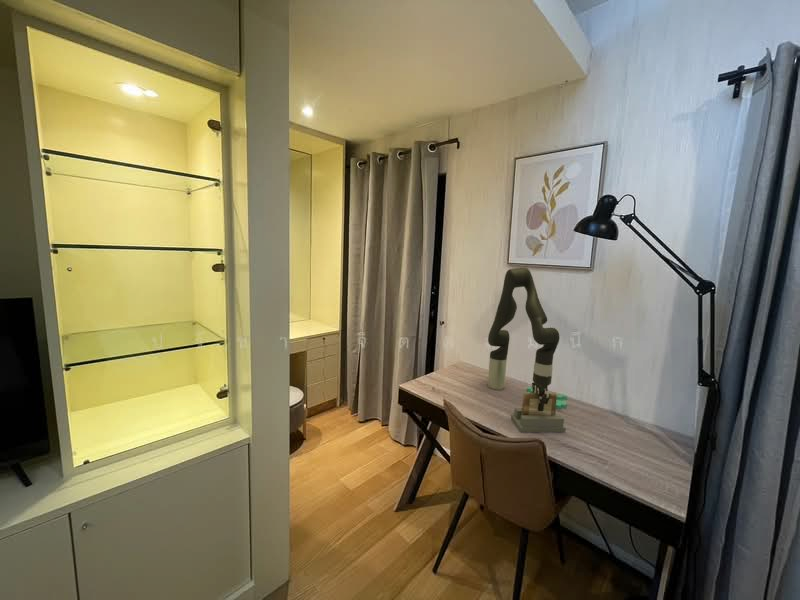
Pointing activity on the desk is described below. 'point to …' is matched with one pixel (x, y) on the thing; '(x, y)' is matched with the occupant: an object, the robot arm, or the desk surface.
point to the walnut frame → (532, 404)
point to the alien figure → (558, 403)
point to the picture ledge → (537, 422)
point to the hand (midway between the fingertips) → (538, 408)
